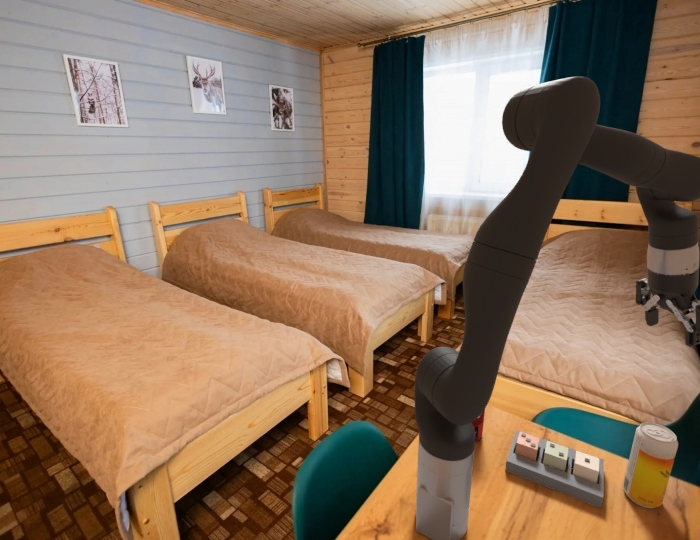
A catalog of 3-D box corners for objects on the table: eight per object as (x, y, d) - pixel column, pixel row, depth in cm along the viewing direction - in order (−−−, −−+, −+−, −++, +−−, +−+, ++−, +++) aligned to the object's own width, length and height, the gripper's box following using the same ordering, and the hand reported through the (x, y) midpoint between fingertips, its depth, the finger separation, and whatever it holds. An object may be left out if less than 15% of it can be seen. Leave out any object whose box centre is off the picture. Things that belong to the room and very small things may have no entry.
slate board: (601, 508, 71) (603, 497, 70) (505, 470, 80) (506, 460, 79) (601, 469, 80) (603, 459, 79) (515, 438, 89) (516, 429, 88)
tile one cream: (596, 483, 74) (599, 470, 73) (572, 474, 76) (575, 462, 75) (596, 469, 77) (599, 457, 76) (574, 461, 79) (576, 449, 78)
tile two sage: (564, 471, 77) (567, 459, 76) (542, 463, 79) (544, 451, 78) (566, 458, 80) (568, 447, 79) (545, 451, 82) (547, 439, 81)
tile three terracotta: (535, 460, 79) (537, 449, 78) (515, 453, 81) (516, 441, 81) (538, 448, 83) (539, 437, 82) (518, 442, 85) (520, 430, 84)
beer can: (668, 513, 70) (687, 445, 66) (631, 508, 71) (647, 441, 67) (650, 486, 75) (667, 422, 71) (616, 481, 77) (630, 418, 72)
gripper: (623, 259, 78) (625, 324, 84) (692, 284, 65) (689, 359, 71) (655, 247, 79) (656, 313, 85) (731, 269, 66) (725, 345, 71)
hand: (671, 334), depth 78 cm, fingers open, 8 cm apart
